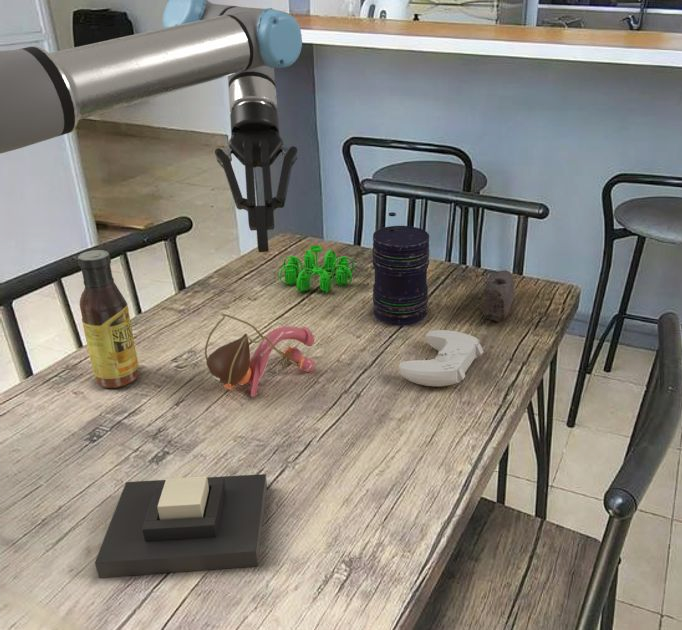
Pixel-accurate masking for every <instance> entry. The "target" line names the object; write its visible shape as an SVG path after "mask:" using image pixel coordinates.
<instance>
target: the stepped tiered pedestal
mask: <svg viewBox="0 0 682 630" xmlns="http://www.w3.org/2000/svg"><path fill="white" fill-rule="evenodd" d="M207 479H208V485H209V493H208V497H207V502H206V506H205V511H204V515H203V518H187V519H172V520H160V517H159V512H158V507H157V506H158V503H159V500H160V497H161V494H162V490H163V487H164V484H165V481H166V479H155V480H141V481H140V480H139V481H126V482H125V483H124V485H123V489H122V491H121V494H120V496H119V499H118V501H117V504H116V507H115V510H114V512H113V514H112V517H111V520H110V522H109V525H108V528H107V530H106V533H105V535H104V538H103V540H102V544H101V545H100V548H99V551H98V553H97V556H96V559H95V560H94V565H95V569H96V573H97V576H98V578H99V579H100V578H111V577H112V578H115V577H126V576H128V577H129V576H141V575H142V576H143V575H155V574H156V575H157V574H167V573H168V574H170V573H171V574H172V573H183V572H197V571H208V570H209V571H211V570H212V571H213V570H225V569H237V568H239V569H240V568H251V567H258V566H259V560H260V552H261V543H262V535H263V526H264V520H265V510H266V502H267V494H268V493H267V492H268V481H267V474H266V473H262V474H261V473H259V474H245V475H244V474H243V475H241V474H240V475H224V476H207Z"/></svg>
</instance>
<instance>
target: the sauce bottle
mask: <svg viewBox="0 0 682 630" xmlns="http://www.w3.org/2000/svg"><path fill="white" fill-rule="evenodd" d="M77 262H78V266H79V267H80V270H81V274H82V279H83V285H84V289H83V291H82V292H81V294H80V299H79V309H80V314H81V322H82V323H81V324H82V327H83V332H84V337H85V341H86V346H87V351H88V355H89V360H90V365H91V369H92V373H93V376H95V377H94V379H95V381H96V384H97V385H98V386H99V387H102V388H106V389H117V388H122V387H124V386H127V385H129V384H131V383H133V382H134V381H136V380H137V378H138V376H139V361H138V354H137V348H136V344H135V337H134V332H133V326H132V322H131V316H130V311H129V310H130V309H129V305H128V303H127V300H126V299H125V297H124V296H123V294H122V292H121V290H120V289H119V287H118V286H117V284H116V283H115V279H114V277H113V272H112V267H111V263H112V259H111V255H110V253H109V251H106V250H103V249H93V250H88V251H85V252H82V253H79V255H78V256H77Z"/></svg>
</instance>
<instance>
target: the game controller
mask: <svg viewBox="0 0 682 630" xmlns="http://www.w3.org/2000/svg"><path fill="white" fill-rule="evenodd" d="M424 338H425V339H424V340H425V341H426V343H427V344H428V345H429V346H431V347H432V348H433V349H435V350H437V351H438V352H437V353H438V354H437V355H436V356H435V358H431V359H414V360H404V361H401V362H399V365H398V373H399V374H400V375H401V376H402V378H404V379H405V380H407V381H409V382H411V383H413V384H417V385H421V386H426V387H447V386H451V385H455V384H456V385H457V384H459V383H460V382H461V381H463V380H464V379H465V378H466V372H467V371H468V369H469V368H470V366H471V364H472V363H473V361H474V360H475V359H477V358H478V357H480V356H482V355H483V354H484V349H483V347H482V345H481V343H480V340H479V339H478V338H477V337H475V336H473V335H471V334H468V333H464V332H460V331H456V330H447V329H435V330H431V331H429V332H427V333H426V334H425V335H424Z"/></svg>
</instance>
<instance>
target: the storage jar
mask: <svg viewBox="0 0 682 630" xmlns="http://www.w3.org/2000/svg"><path fill="white" fill-rule="evenodd" d="M388 216H389V217H396V216H397V213H396V212H393V211H392V212H389V213H388ZM372 241H373V242H372V266H373V268H374V283H373V286H372V291H373V292H372V303H373V304H372V305H373V306H372V307H373V317H374V318H375V319H376V320H377V321H378V322H380V323H382V324H385V325H388V326H393V327H394V326H395V327H408V326H413V325H417V324H419V323H421V322H423V321H424V320H425V319H426V318H427V316H428V315H427V314H428V310H427V308H428V302H429V294H428V293H429V287H428V284H427V280H428V269H429V264H430V234H429V233H428V232H427V231H426V230H424V229H422V228H420V227H417V226H416V227H415V226H409V225H389V226H385V227H381V228H379V229H376V230H375V231H374V232H373V233H372Z"/></svg>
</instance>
